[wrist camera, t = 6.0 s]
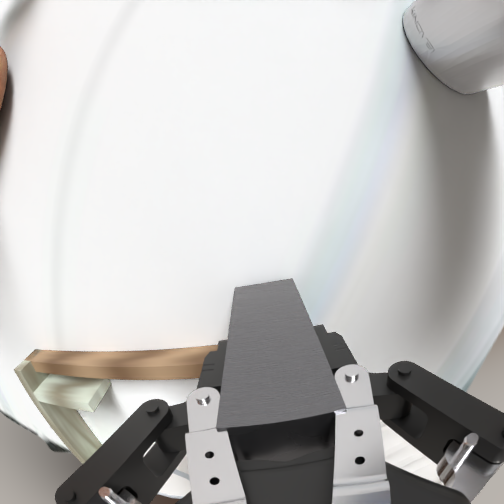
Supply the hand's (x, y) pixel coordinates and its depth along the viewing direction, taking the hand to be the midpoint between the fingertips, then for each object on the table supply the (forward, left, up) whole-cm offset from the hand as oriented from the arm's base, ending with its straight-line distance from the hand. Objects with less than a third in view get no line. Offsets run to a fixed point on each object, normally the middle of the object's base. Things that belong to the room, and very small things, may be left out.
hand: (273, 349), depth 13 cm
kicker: (0, +8, -5) cm, 9 cm away
